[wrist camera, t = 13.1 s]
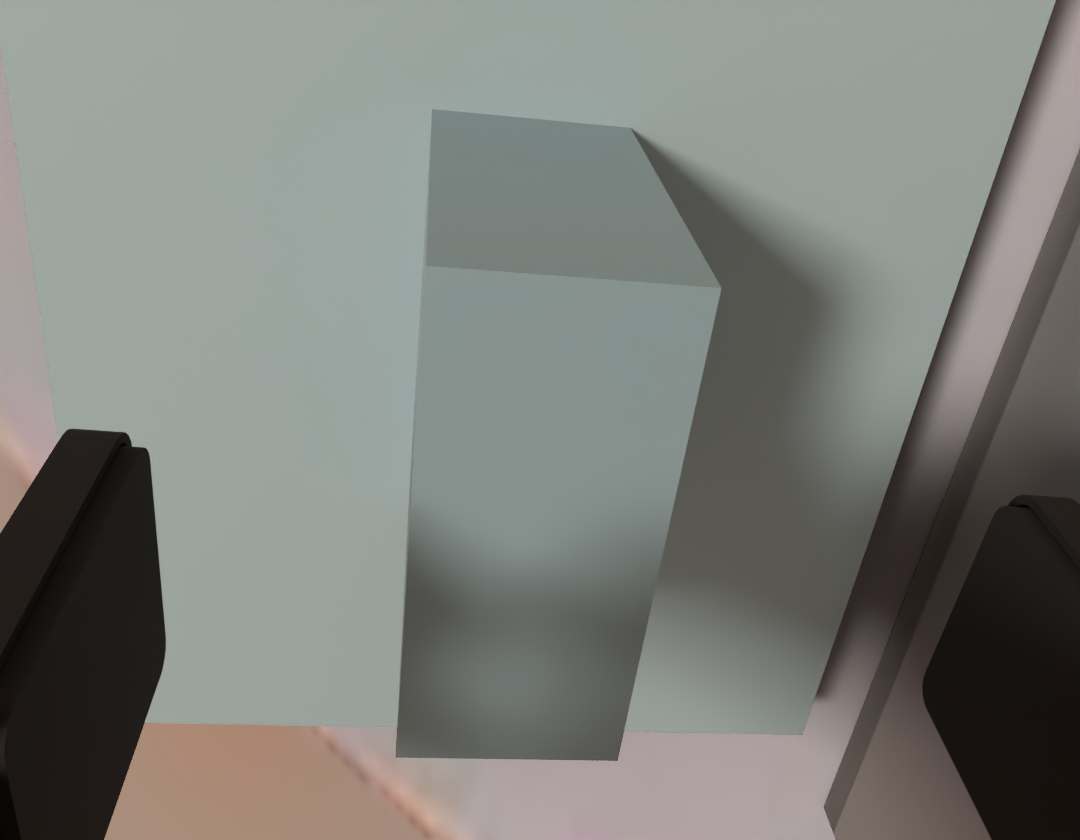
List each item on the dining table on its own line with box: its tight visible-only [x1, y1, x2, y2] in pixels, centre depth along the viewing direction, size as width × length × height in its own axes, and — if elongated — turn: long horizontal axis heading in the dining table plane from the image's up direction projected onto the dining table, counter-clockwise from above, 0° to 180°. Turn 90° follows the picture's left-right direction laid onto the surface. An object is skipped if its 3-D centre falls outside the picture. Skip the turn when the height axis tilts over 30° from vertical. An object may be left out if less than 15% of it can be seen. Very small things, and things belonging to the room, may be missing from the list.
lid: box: [0, 0, 1056, 761], centre depth 16 cm, size 15×19×8 cm
